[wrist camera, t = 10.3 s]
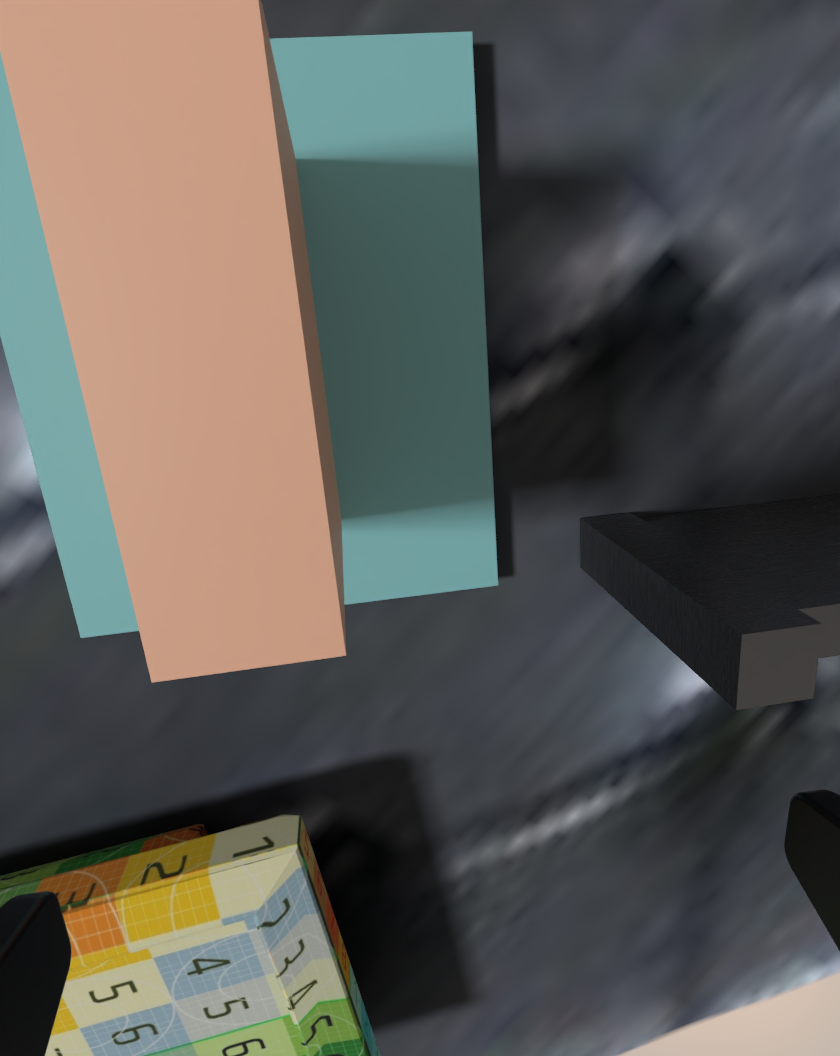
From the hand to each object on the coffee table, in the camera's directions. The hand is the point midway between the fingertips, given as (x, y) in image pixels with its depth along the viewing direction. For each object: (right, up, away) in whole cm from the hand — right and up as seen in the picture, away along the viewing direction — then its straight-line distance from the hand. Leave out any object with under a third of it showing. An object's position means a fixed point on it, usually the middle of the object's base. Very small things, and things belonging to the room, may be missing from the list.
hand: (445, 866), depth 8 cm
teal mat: (-4, +9, +9) cm, 13 cm away
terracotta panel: (-4, +8, +8) cm, 13 cm away
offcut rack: (+11, +4, +12) cm, 17 cm away
